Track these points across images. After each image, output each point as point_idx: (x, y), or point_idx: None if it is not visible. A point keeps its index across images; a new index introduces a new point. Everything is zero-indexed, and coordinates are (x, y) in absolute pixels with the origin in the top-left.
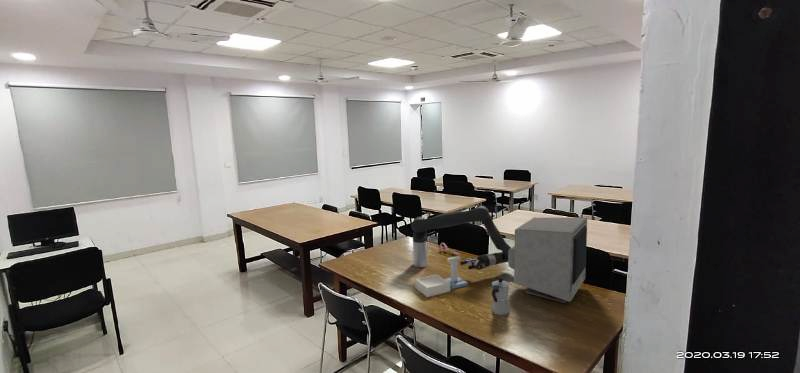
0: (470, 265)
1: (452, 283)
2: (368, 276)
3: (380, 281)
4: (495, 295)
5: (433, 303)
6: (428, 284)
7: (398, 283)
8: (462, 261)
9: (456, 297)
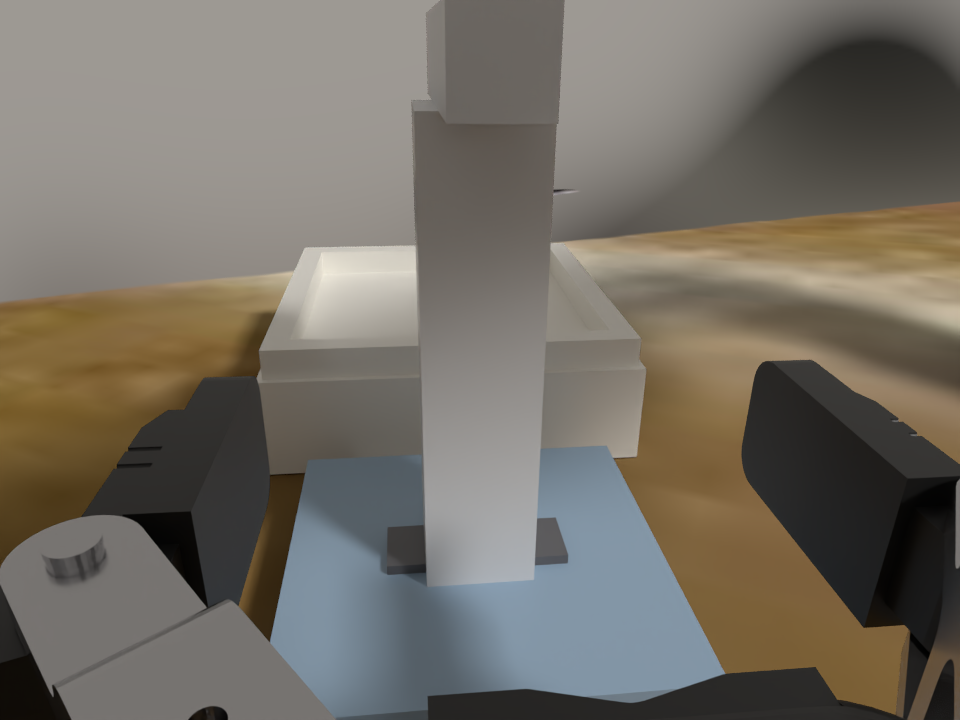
0: (214, 412)
1: (389, 496)
2: (848, 240)
3: (743, 254)
4: None
5: (163, 334)
6: (416, 289)
7: (681, 290)
8: (801, 387)
9: (59, 470)
